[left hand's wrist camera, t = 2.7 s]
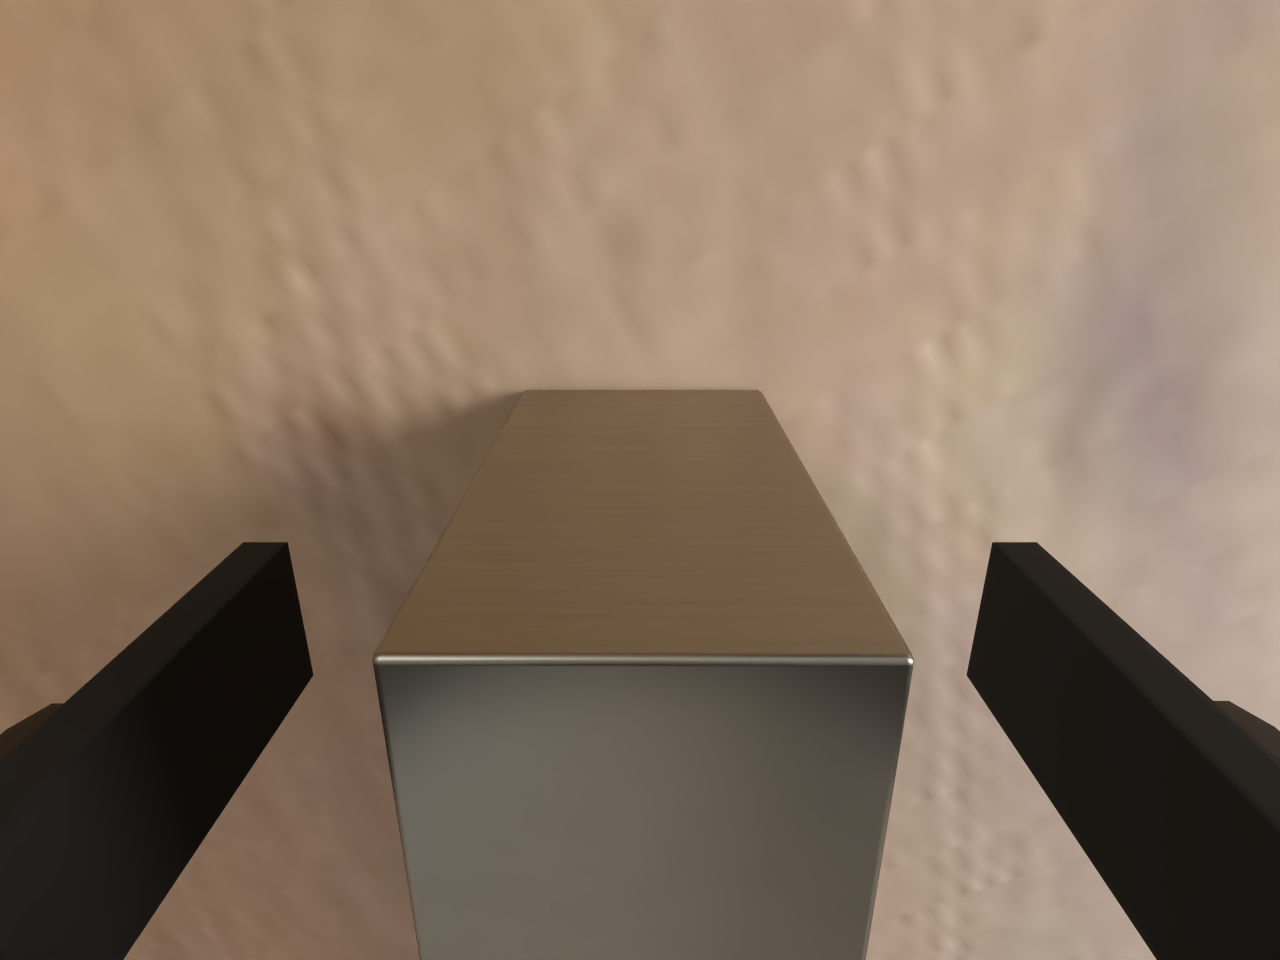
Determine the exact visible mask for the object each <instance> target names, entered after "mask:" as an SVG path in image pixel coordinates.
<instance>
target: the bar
mask: <svg viewBox="0 0 1280 960" xmlns="http://www.w3.org/2000/svg"><path fill="white" fill-rule="evenodd" d="M913 664H914V659H913V656H912V654H911V652H910V650H909V648H908V647H907V645H906V643H905V641H904V640H903V638H902V636H901V634H900V633H899V631H898V629H897V627H896V626H895V624H894V622H893V621H892V619H891V617H890V615H889V614H888V612H887V610H886V608H885V607H884V605H883V603H882V601H881V600H880V598H879V596H878V594H877V593H876V591H875V589H874V587H873V586H872V584H871V582H870V580H869V579H868V577H867V575H866V573H865V572H864V570H863V568H862V566H861V565H860V563H859V561H858V560H857V558H856V556H855V554H854V553H853V551H852V549H851V547H850V546H849V544H848V542H847V540H846V539H845V537H844V535H843V533H842V532H841V530H840V528H839V526H838V525H837V523H836V521H835V519H834V518H833V516H832V514H831V512H830V511H829V509H828V507H827V506H826V504H825V502H824V500H823V499H822V497H821V495H820V493H819V492H818V490H817V488H816V486H815V485H814V483H813V481H812V479H811V478H810V476H809V474H808V472H807V471H806V469H805V467H804V465H803V464H802V462H801V460H800V458H799V457H798V455H797V453H796V451H795V450H794V448H793V446H792V445H791V443H790V441H789V439H788V438H787V436H786V434H785V432H784V431H783V429H782V427H781V425H780V424H779V422H778V420H777V418H776V417H775V415H774V413H773V411H772V410H771V408H770V406H769V404H768V403H767V401H766V399H765V397H764V396H763V394H762V392H761V391H758V390H526V391H524V392H523V393H522V395H521V397H520V399H519V401H518V402H517V404H516V406H515V408H514V409H513V411H512V413H511V415H510V416H509V418H508V420H507V422H506V423H505V425H504V427H503V429H502V430H501V432H500V434H499V436H498V437H497V439H496V441H495V443H494V445H493V446H492V448H491V450H490V452H489V453H488V455H487V457H486V459H485V460H484V462H483V464H482V466H481V467H480V469H479V471H478V473H477V474H476V476H475V478H474V480H473V481H472V483H471V485H470V487H469V489H468V490H467V492H466V494H465V496H464V497H463V499H462V501H461V503H460V504H459V506H458V508H457V510H456V511H455V513H454V515H453V517H452V518H451V520H450V522H449V524H448V525H447V527H446V529H445V531H444V533H443V534H442V536H441V538H440V540H439V541H438V543H437V545H436V547H435V548H434V550H433V552H432V554H431V555H430V557H429V559H428V561H427V562H426V564H425V566H424V568H423V569H422V571H421V573H420V575H419V577H418V578H417V580H416V582H415V584H414V585H413V587H412V589H411V591H410V592H409V594H408V596H407V598H406V599H405V601H404V603H403V605H402V606H401V608H400V610H399V612H398V613H397V615H396V617H395V619H394V621H393V622H392V624H391V626H390V628H389V629H388V631H387V633H386V635H385V636H384V638H383V640H382V642H381V643H380V645H379V647H378V649H377V650H376V652H375V654H374V657H373V666H374V672H375V678H376V685H377V691H378V697H379V704H380V710H381V716H382V723H383V729H384V735H385V741H386V748H387V754H388V760H389V767H390V773H391V779H392V786H393V792H394V798H395V804H396V811H397V817H398V823H399V830H400V836H401V842H402V849H403V855H404V861H405V867H406V874H407V880H408V886H409V893H410V899H411V905H412V911H413V918H414V924H415V930H416V937H417V943H418V949H419V956H420V960H865V959H866V953H867V947H868V941H869V935H870V928H871V922H872V916H873V910H874V904H875V898H876V891H877V885H878V879H879V873H880V867H881V861H882V855H883V848H884V842H885V836H886V830H887V824H888V818H889V812H890V805H891V799H892V793H893V787H894V781H895V775H896V768H897V762H898V756H899V750H900V744H901V738H902V732H903V725H904V719H905V713H906V707H907V701H908V695H909V689H910V682H911V676H912V670H913Z"/></svg>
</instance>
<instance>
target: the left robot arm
mask: <svg viewBox="0 0 1280 960" xmlns="http://www.w3.org/2000/svg"><path fill="white" fill-rule="evenodd" d="M312 676H313V671H312V666H311V661H310V656H309V650H308V645H307V640H306V635H305V630H304V625H303V620H302V614H301V609H300V604H299V599H298V594H297V589H296V583H295V578H294V573H293V568H292V563H291V558H290V552H289V547H288V542H243V543H242V544H241V545H240V546H239V547H238V548H237V549H235V550H234V551H233V552H232V553H231V554H230V555H229V556H228V557H227V558H225V559H224V560H223V561H222V562H221V563H220V564H219V565H218V566H217V567H215V568H214V569H213V570H212V571H211V572H210V573H209V574H208V575H207V576H205V577H204V578H203V579H202V580H201V581H200V582H199V583H198V584H197V585H195V586H194V587H193V588H192V589H191V590H190V591H189V592H188V593H186V594H185V595H184V596H183V597H182V598H181V599H180V600H179V601H178V602H176V603H175V604H174V605H173V606H172V607H171V608H170V609H169V610H168V611H166V612H165V613H164V614H163V615H162V616H161V617H160V618H159V619H158V620H156V621H155V622H154V623H153V624H152V625H151V626H150V627H149V628H148V629H146V630H145V631H144V632H143V633H142V634H141V635H140V636H139V637H138V638H136V639H135V640H134V641H133V642H132V643H131V644H130V645H129V646H127V647H126V648H125V649H124V650H123V651H122V652H121V653H120V654H119V655H117V656H116V657H115V658H114V659H113V660H112V661H111V662H110V663H109V664H107V665H106V666H105V667H104V668H103V669H102V670H101V671H100V672H99V673H97V674H96V675H95V676H94V677H93V678H92V679H91V680H90V681H89V682H87V683H86V684H85V685H84V686H83V687H82V688H81V689H80V690H79V691H77V692H76V693H75V694H74V695H73V696H72V697H71V698H70V699H69V700H67V701H66V702H65V703H64V704H51V705H49V706H47V707H45V708H43V709H42V710H40V711H38V712H36V713H35V714H33V715H31V716H29V717H28V718H26V719H24V720H22V721H21V722H19V723H17V724H15V725H14V726H12V727H10V728H8V729H7V730H5V731H4V732H3V733H2V734H1V735H0V960H123V959H124V958H125V956H126V955H127V953H128V952H129V950H130V949H131V947H132V946H133V944H134V943H135V941H136V940H137V938H138V937H139V935H140V934H141V932H142V931H143V929H144V928H145V926H146V925H147V923H148V922H149V920H150V919H151V917H152V916H153V914H154V913H155V911H156V910H157V908H158V907H159V905H160V904H161V902H162V901H163V899H164V898H165V896H166V895H167V893H168V892H169V890H170V889H171V887H172V886H173V884H174V883H175V881H176V880H177V878H178V877H179V875H180V874H181V872H182V871H183V869H184V868H185V866H186V865H187V863H188V862H189V860H190V859H191V857H192V856H193V854H194V853H195V851H196V850H197V848H198V847H199V845H200V844H201V842H202V841H203V839H204V838H205V836H206V835H207V833H208V832H209V831H210V829H211V828H212V826H213V825H214V823H215V822H216V820H217V819H218V817H219V816H220V814H221V813H222V811H223V810H224V808H225V807H226V805H227V804H228V802H229V801H230V799H231V798H232V796H233V795H234V793H235V792H236V790H237V789H238V787H239V786H240V784H241V783H242V781H243V780H244V778H245V777H246V775H247V774H248V772H249V771H250V769H251V768H252V766H253V765H254V763H255V762H256V760H257V759H258V757H259V756H260V754H261V753H262V751H263V750H264V748H265V747H266V745H267V744H268V742H269V741H270V739H271V738H272V736H273V735H274V733H275V732H276V730H277V729H278V727H279V726H280V724H281V723H282V721H283V720H284V718H285V717H286V715H287V714H288V712H289V711H290V709H291V708H292V706H293V705H294V703H295V702H296V700H297V699H298V697H299V696H300V694H301V693H302V691H303V690H304V688H305V687H306V685H307V684H308V682H309V681H310V679H311V678H312ZM967 676H968V678H969V679H970V681H971V682H972V684H973V685H974V687H975V688H976V690H977V691H978V693H979V694H980V696H981V697H982V699H983V700H984V702H985V703H986V705H987V706H988V708H989V709H990V711H991V712H992V714H993V715H994V717H995V718H996V720H997V721H998V723H999V724H1000V726H1001V727H1002V729H1003V730H1004V732H1005V733H1006V735H1007V736H1008V738H1009V739H1010V741H1011V742H1012V744H1013V745H1014V747H1015V748H1016V750H1017V751H1018V753H1019V754H1020V756H1021V757H1022V759H1023V760H1024V762H1025V763H1026V765H1027V766H1028V768H1029V769H1030V771H1031V772H1032V774H1033V775H1034V777H1035V778H1036V780H1037V781H1038V783H1039V784H1040V786H1041V787H1042V789H1043V790H1044V792H1045V793H1046V795H1047V796H1048V798H1049V799H1050V801H1051V802H1052V804H1053V805H1054V807H1055V808H1056V810H1057V811H1058V813H1059V814H1060V816H1061V817H1062V818H1063V820H1064V821H1065V823H1066V824H1067V826H1068V827H1069V829H1070V830H1071V832H1072V833H1073V835H1074V836H1075V838H1076V839H1077V841H1078V842H1079V844H1080V845H1081V847H1082V848H1083V850H1084V851H1085V853H1086V854H1087V856H1088V857H1089V859H1090V860H1091V862H1092V863H1093V865H1094V866H1095V868H1096V869H1097V871H1098V872H1099V874H1100V875H1101V877H1102V878H1103V880H1104V881H1105V883H1106V884H1107V886H1108V887H1109V889H1110V890H1111V892H1112V893H1113V895H1114V896H1115V898H1116V899H1117V901H1118V902H1119V904H1120V905H1121V907H1122V908H1123V910H1124V911H1125V913H1126V914H1127V916H1128V917H1129V919H1130V920H1131V922H1132V923H1133V925H1134V926H1135V928H1136V929H1137V931H1138V932H1139V934H1140V935H1141V937H1142V938H1143V940H1144V941H1145V943H1146V944H1147V946H1148V947H1149V949H1150V950H1151V952H1152V953H1153V955H1154V956H1155V958H1156V959H1157V960H1280V731H1279V730H1277V729H1276V728H1275V727H1274V726H1272V725H1270V724H1268V723H1267V722H1265V721H1263V720H1261V719H1260V718H1258V717H1256V716H1254V715H1252V714H1251V713H1249V712H1247V711H1245V710H1244V709H1242V708H1240V707H1238V706H1237V705H1235V704H1233V703H1231V702H1230V701H1213V700H1212V699H1210V698H1209V697H1208V696H1207V695H1206V694H1205V693H1204V692H1203V691H1202V690H1200V689H1199V688H1198V687H1197V686H1196V685H1195V684H1194V683H1193V682H1191V681H1190V680H1189V679H1188V678H1187V677H1186V676H1185V675H1184V674H1183V673H1181V672H1180V671H1179V670H1178V669H1177V668H1176V667H1175V666H1174V665H1173V664H1171V663H1170V662H1169V661H1168V660H1167V659H1166V658H1165V657H1164V656H1163V655H1161V654H1160V653H1159V652H1158V651H1157V650H1156V649H1155V648H1154V647H1153V646H1151V645H1150V644H1149V643H1148V642H1147V641H1146V640H1145V639H1144V638H1143V637H1141V636H1140V635H1139V634H1138V633H1137V632H1136V631H1135V630H1134V629H1132V628H1131V627H1130V626H1129V625H1128V624H1127V623H1126V622H1125V621H1124V620H1122V619H1121V618H1120V617H1119V616H1118V615H1117V614H1116V613H1115V612H1114V611H1112V610H1111V609H1110V608H1109V607H1108V606H1107V605H1106V604H1105V603H1104V602H1102V601H1101V600H1100V599H1099V598H1098V597H1097V596H1096V595H1095V594H1094V593H1092V592H1091V591H1090V590H1089V589H1088V588H1087V587H1086V586H1085V585H1084V584H1082V583H1081V582H1080V581H1079V580H1078V579H1077V578H1076V577H1075V576H1073V575H1072V574H1071V573H1070V572H1069V571H1068V570H1067V569H1066V568H1065V567H1063V566H1062V565H1061V564H1060V563H1059V562H1058V561H1057V560H1056V559H1055V558H1053V557H1052V556H1051V555H1050V554H1049V553H1048V552H1047V551H1046V550H1045V549H1043V548H1042V547H1041V546H1040V545H1039V544H1038V543H1037V542H992V547H991V553H990V558H989V563H988V568H987V573H986V578H985V584H984V589H983V594H982V599H981V604H980V609H979V614H978V620H977V625H976V630H975V635H974V640H973V645H972V651H971V656H970V661H969V666H968V671H967Z"/></svg>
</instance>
